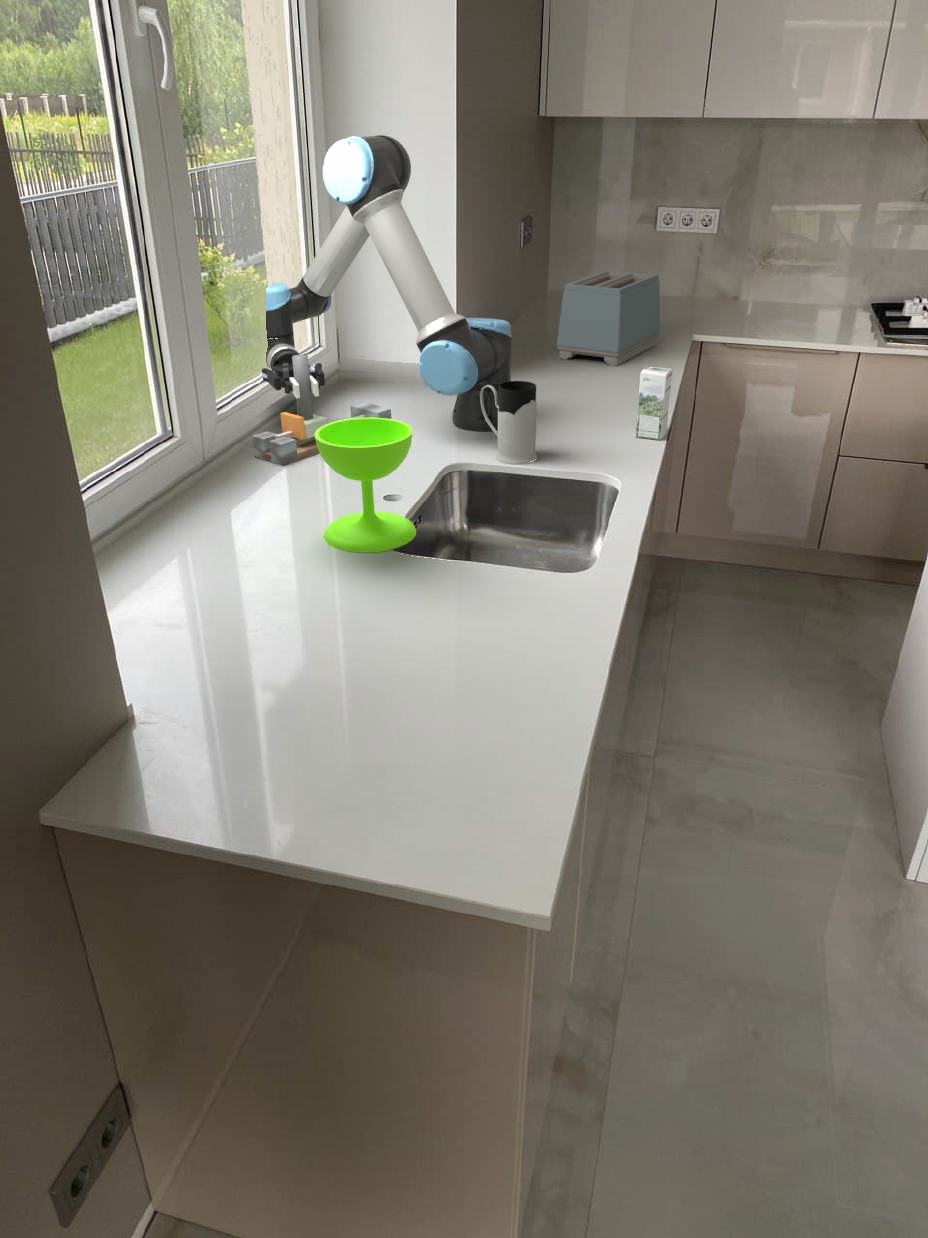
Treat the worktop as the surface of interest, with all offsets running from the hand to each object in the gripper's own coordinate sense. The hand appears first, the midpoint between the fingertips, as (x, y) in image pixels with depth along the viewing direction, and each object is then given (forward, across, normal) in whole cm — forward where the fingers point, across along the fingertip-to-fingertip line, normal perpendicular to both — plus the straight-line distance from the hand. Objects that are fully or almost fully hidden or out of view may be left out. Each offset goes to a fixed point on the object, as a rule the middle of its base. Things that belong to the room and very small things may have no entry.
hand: (307, 390), depth 193 cm
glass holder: (+15, -38, -14) cm, 43 cm away
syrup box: (+14, -72, -14) cm, 75 cm away
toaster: (-60, -101, -14) cm, 119 cm away
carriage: (-5, 0, -10) cm, 11 cm away
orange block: (-2, +5, -10) cm, 11 cm away
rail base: (-8, -4, -14) cm, 16 cm away
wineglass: (+44, -1, -14) cm, 46 cm away
